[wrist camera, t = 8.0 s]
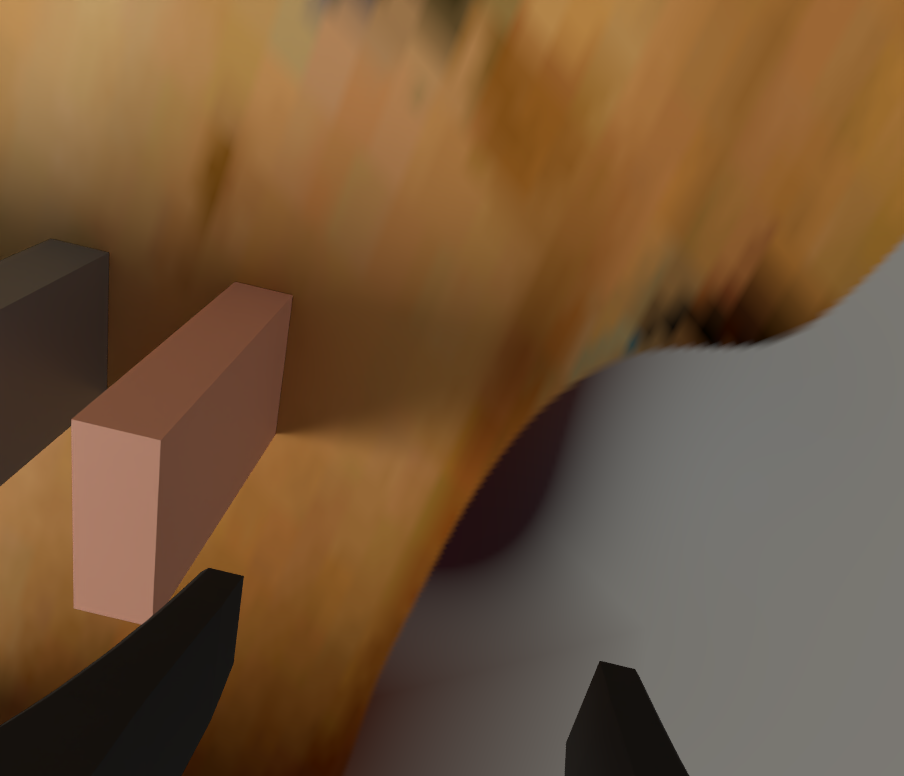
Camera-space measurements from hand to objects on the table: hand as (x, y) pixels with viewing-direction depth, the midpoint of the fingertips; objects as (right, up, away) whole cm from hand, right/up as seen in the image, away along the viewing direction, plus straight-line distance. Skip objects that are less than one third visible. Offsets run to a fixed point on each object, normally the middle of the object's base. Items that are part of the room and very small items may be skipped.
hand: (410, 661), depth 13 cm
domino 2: (-5, +5, +8) cm, 11 cm away
